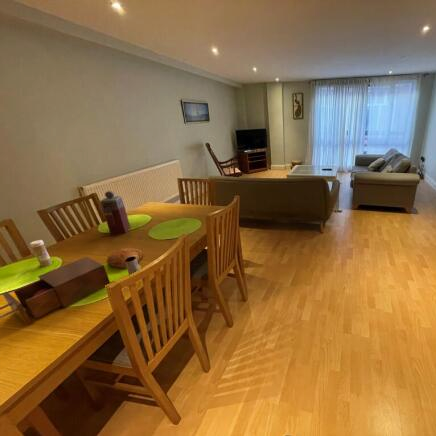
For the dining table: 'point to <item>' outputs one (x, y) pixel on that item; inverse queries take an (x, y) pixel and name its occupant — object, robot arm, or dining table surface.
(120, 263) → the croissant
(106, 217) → the maroon canister
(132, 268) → the planter
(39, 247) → the sprinkles bottle
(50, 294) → the drawer
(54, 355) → the dining table surface
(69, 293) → the cabinet
